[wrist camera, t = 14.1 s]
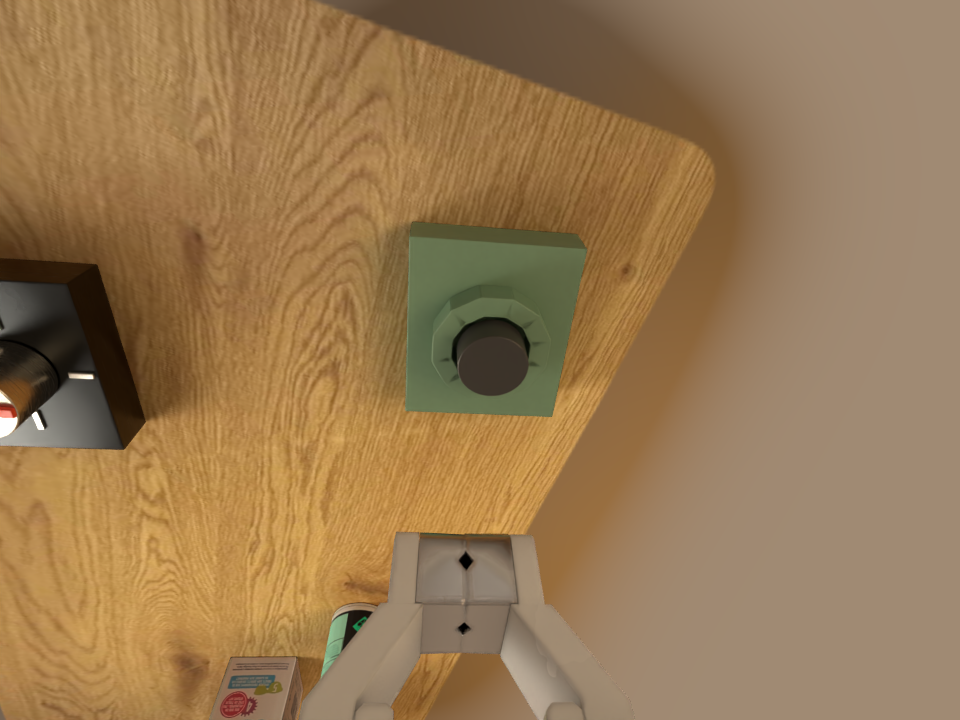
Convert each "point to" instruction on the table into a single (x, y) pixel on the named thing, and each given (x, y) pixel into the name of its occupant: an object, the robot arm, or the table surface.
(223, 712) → the juice carton
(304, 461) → the table surface
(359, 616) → the spray can
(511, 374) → the button
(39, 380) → the knob
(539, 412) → the button base
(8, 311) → the panel
